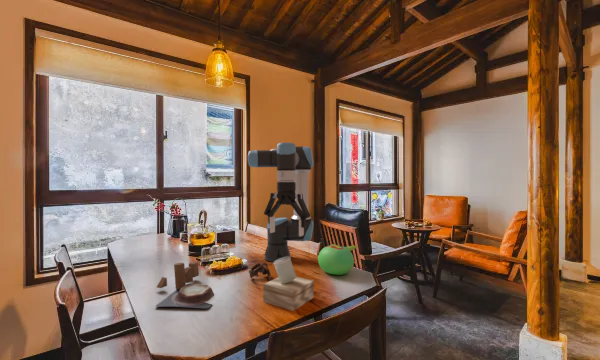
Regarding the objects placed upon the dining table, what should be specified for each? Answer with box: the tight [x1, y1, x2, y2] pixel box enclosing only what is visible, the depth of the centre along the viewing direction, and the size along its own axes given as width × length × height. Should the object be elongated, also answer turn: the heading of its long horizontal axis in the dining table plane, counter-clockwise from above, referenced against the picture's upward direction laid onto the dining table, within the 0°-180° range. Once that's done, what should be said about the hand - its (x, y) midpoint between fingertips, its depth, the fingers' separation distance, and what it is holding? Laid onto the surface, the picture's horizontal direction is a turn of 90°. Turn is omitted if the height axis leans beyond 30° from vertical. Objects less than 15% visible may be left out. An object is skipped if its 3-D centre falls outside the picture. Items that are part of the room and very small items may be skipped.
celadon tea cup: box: [273, 255, 297, 283], centre depth 111 cm, size 7×7×8 cm
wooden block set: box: [156, 261, 200, 290], centre depth 125 cm, size 18×9×10 cm, turn 149°
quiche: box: [155, 283, 216, 309], centre depth 114 cm, size 21×20×4 cm
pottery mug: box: [248, 262, 272, 281], centre depth 134 cm, size 12×9×8 cm
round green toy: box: [317, 243, 358, 276], centre depth 142 cm, size 18×17×15 cm
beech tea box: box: [262, 276, 315, 312], centre depth 111 cm, size 14×14×7 cm
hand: (286, 234), depth 116 cm, fingers open, 13 cm apart
